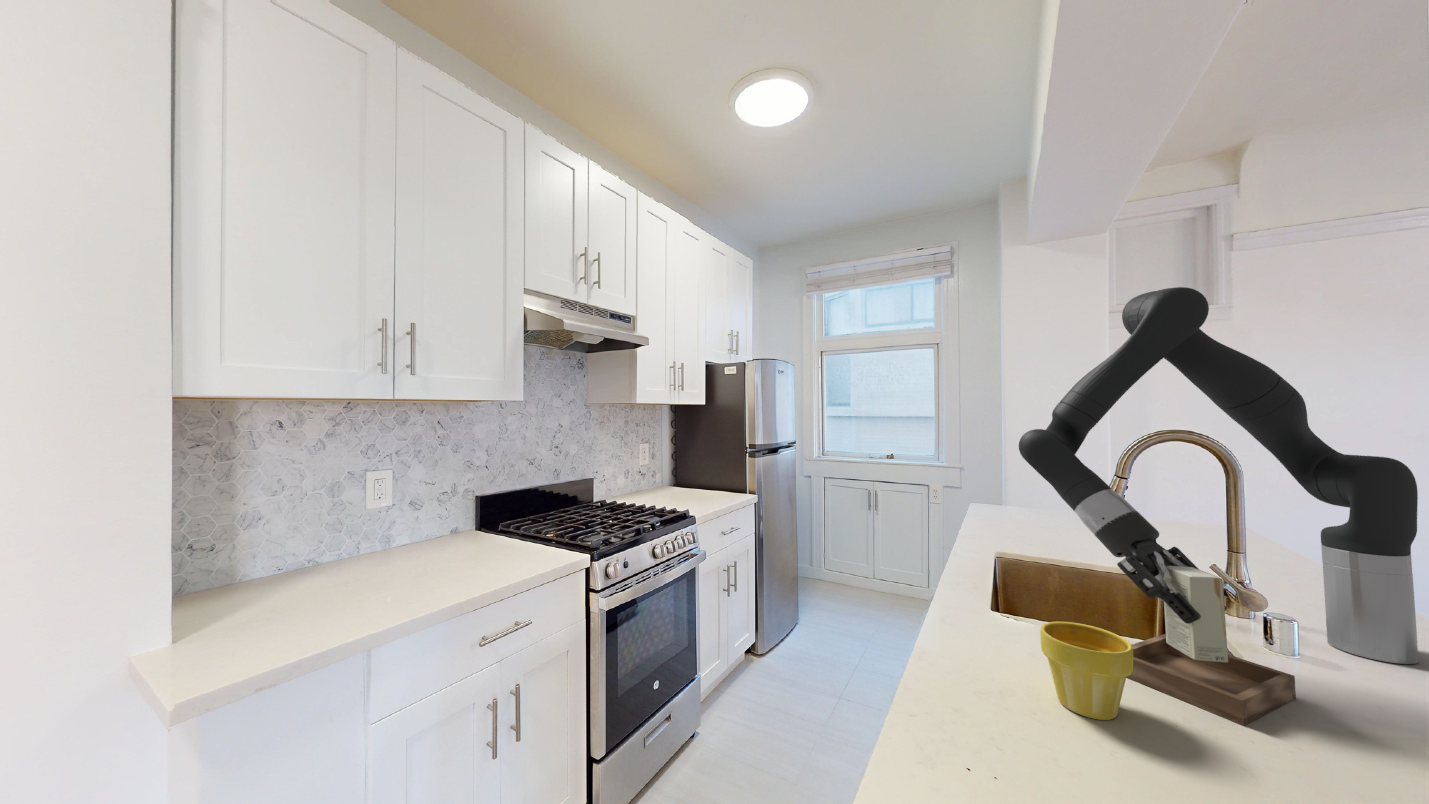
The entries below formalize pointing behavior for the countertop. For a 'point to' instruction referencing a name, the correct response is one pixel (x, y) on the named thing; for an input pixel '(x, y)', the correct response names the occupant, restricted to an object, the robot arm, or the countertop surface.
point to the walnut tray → (1212, 681)
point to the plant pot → (1087, 667)
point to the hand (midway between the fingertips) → (1207, 616)
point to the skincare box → (1208, 600)
